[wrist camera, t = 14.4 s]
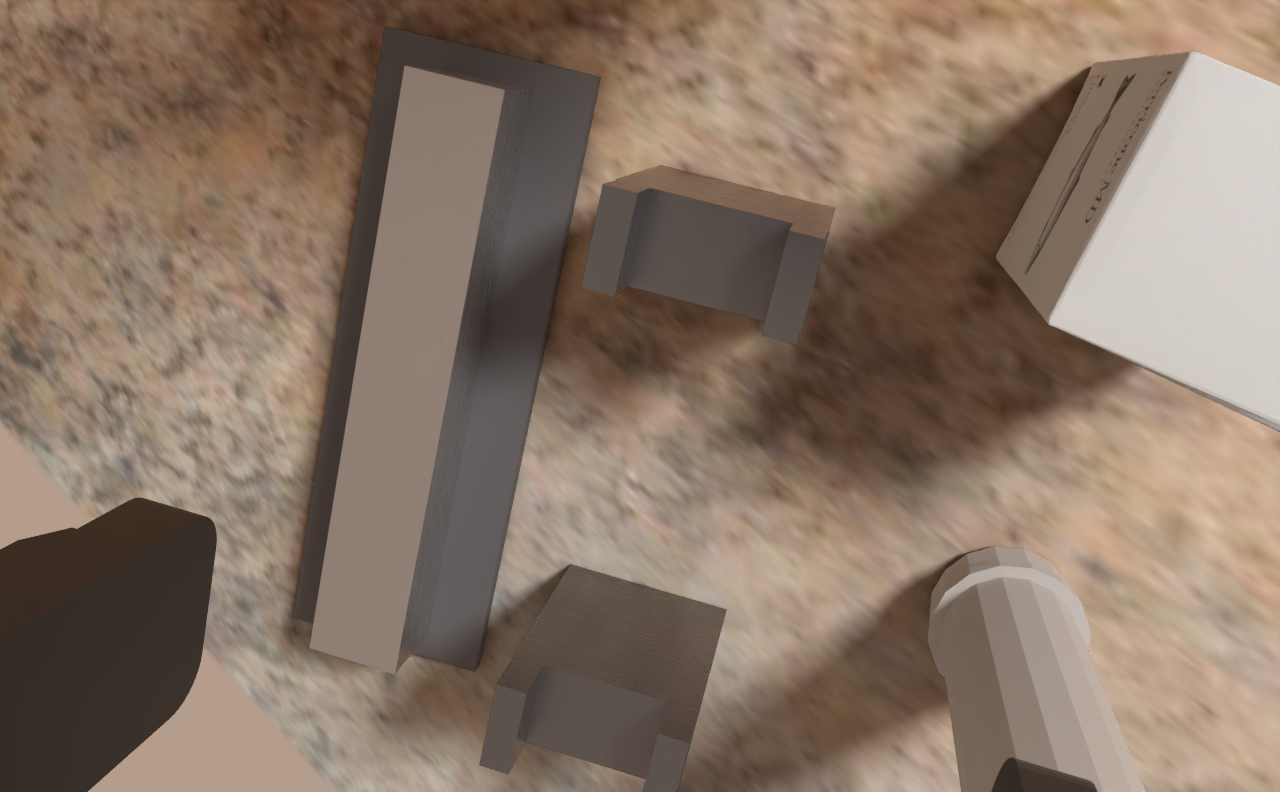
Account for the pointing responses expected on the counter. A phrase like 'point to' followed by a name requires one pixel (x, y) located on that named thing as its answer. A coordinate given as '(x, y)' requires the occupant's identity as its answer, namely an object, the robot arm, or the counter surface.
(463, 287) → the rail
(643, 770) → the post
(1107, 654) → the counter surface
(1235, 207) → the supplement box
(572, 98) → the mat
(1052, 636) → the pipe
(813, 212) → the post
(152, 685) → the robot arm
